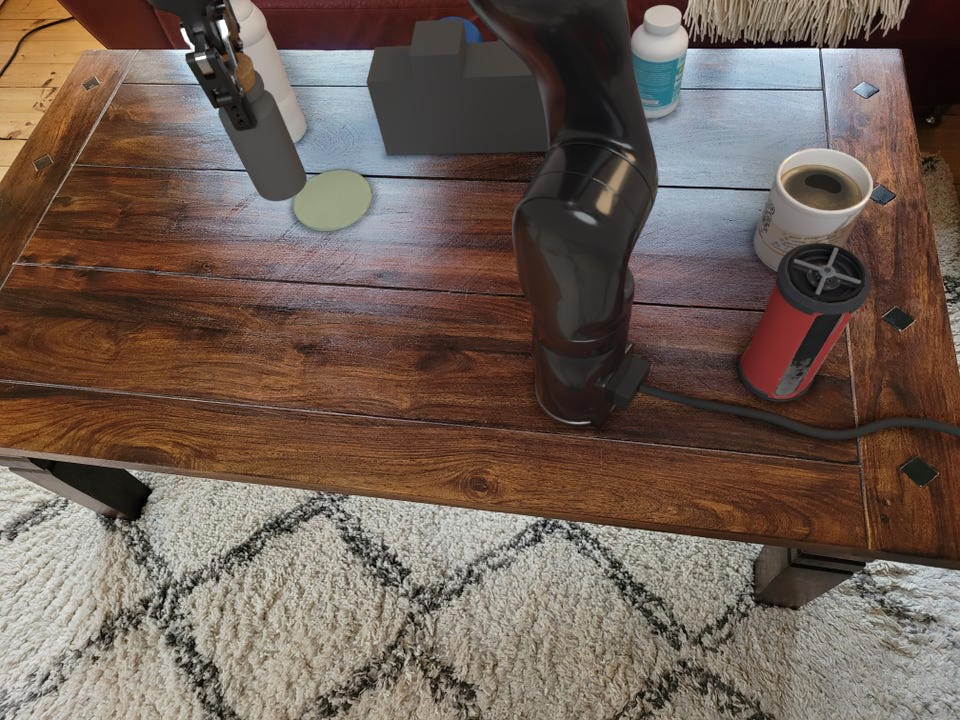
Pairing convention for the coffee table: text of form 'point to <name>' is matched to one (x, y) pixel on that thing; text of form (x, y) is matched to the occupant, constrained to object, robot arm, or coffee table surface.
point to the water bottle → (268, 64)
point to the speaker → (803, 319)
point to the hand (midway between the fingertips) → (246, 106)
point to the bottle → (265, 140)
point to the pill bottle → (659, 59)
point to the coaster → (332, 200)
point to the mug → (812, 203)
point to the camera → (455, 94)
